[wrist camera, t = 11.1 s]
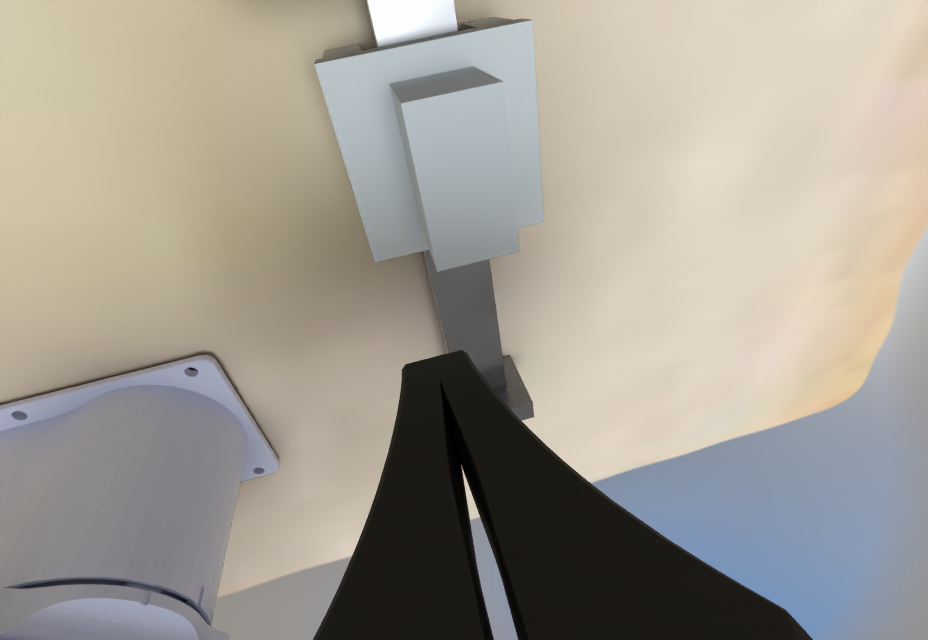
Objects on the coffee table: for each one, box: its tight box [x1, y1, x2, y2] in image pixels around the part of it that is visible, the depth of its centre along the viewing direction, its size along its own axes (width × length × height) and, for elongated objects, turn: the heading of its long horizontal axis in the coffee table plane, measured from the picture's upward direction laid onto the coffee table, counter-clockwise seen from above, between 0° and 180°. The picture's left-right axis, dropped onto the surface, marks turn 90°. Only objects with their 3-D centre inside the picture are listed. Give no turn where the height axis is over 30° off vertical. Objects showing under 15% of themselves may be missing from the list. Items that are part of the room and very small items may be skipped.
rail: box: [364, 0, 534, 420], centre depth 18 cm, size 4×18×4 cm, turn 9°
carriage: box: [314, 17, 544, 272], centre depth 14 cm, size 6×6×6 cm
